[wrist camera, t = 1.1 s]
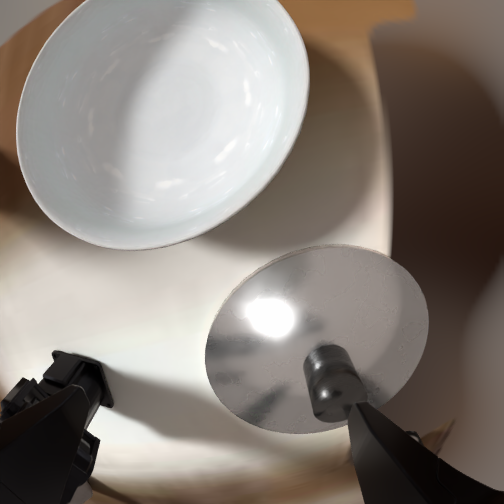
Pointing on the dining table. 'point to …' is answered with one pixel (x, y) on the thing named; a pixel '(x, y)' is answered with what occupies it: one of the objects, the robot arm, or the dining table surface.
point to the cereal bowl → (160, 116)
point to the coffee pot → (82, 494)
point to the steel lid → (316, 338)
